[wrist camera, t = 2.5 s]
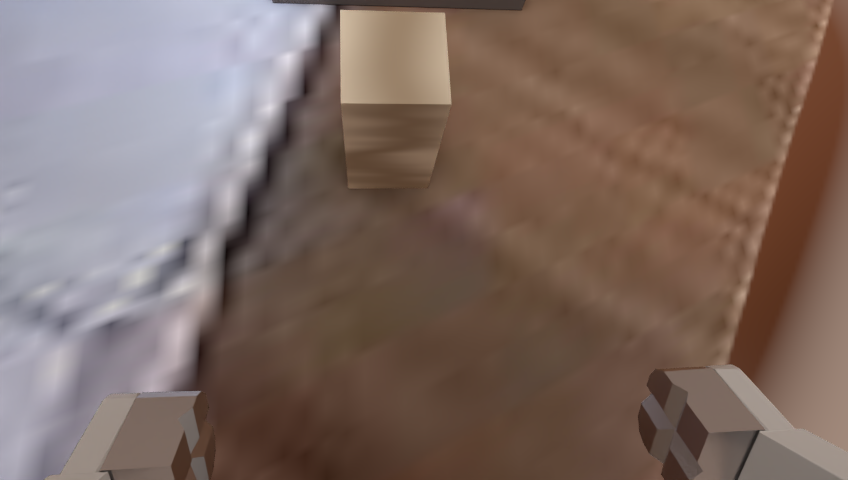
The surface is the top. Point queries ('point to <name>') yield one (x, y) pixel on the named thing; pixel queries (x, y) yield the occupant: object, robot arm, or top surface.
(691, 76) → the top surface
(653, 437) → the robot arm
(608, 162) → the top surface
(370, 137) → the birch peg
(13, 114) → the top surface
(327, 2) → the block
